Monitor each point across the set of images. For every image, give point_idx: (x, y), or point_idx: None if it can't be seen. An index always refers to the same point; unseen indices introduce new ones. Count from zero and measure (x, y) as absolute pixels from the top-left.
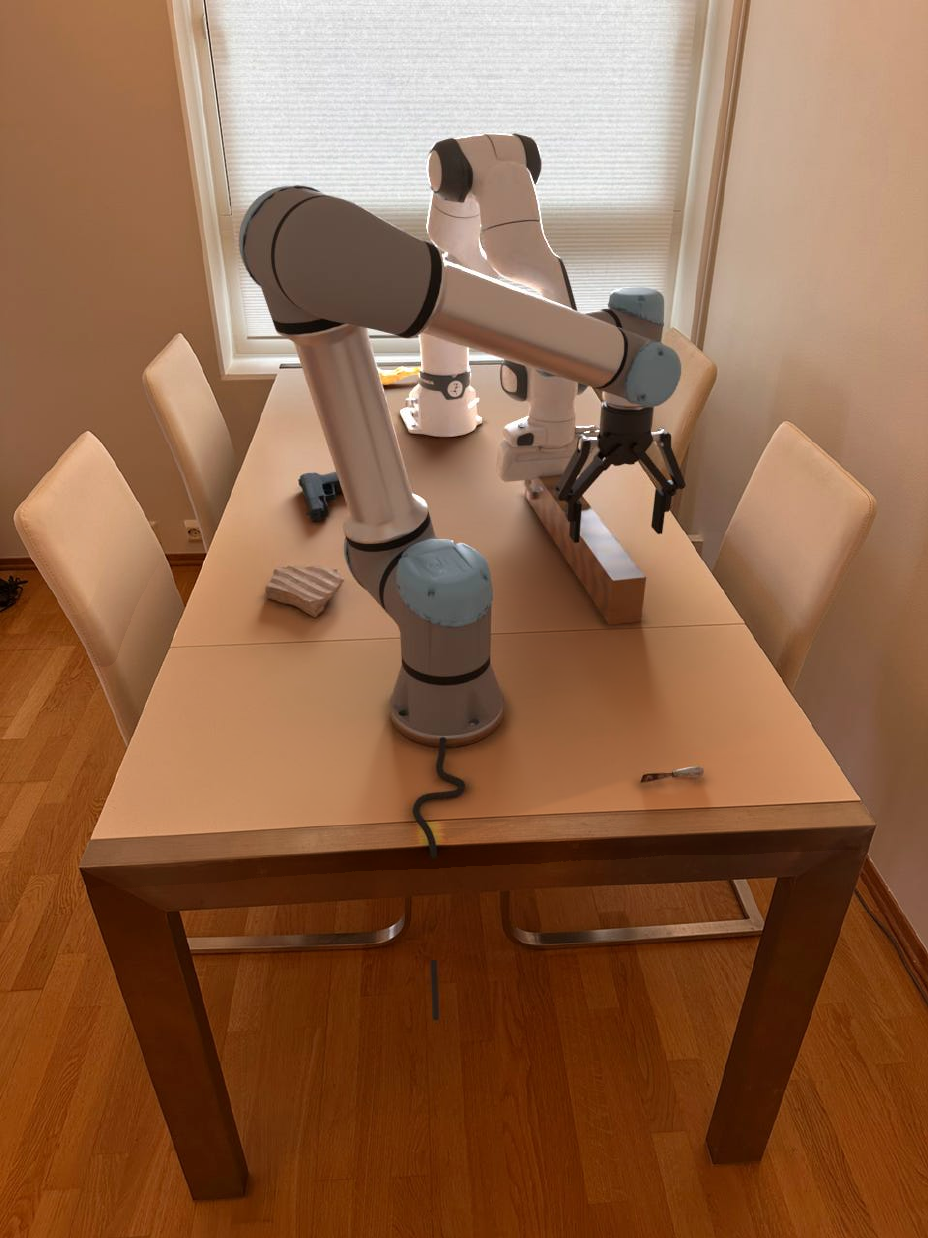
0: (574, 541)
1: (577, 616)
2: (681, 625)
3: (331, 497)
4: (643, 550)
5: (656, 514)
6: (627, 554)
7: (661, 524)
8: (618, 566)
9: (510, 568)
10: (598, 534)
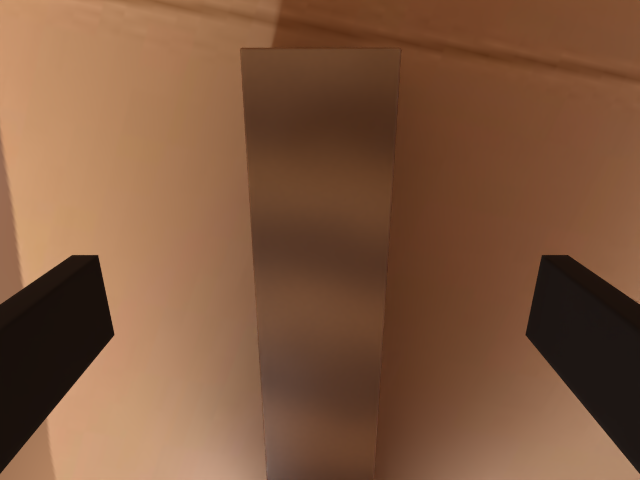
0: (572, 259)
1: (442, 132)
2: (150, 6)
3: None
4: (151, 407)
5: (49, 350)
6: (257, 257)
7: (48, 279)
8: (327, 171)
9: (508, 392)
10: (312, 411)
